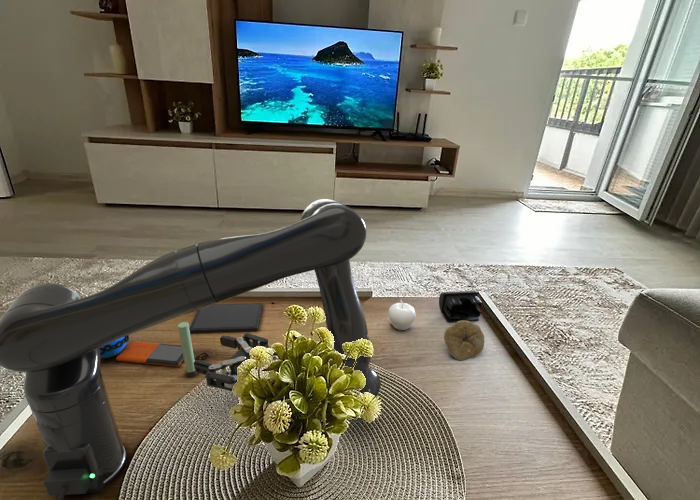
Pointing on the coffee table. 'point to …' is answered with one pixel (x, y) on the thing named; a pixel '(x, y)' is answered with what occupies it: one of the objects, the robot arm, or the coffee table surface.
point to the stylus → (187, 348)
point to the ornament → (113, 347)
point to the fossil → (464, 340)
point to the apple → (401, 315)
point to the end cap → (460, 306)
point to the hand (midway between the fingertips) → (208, 352)
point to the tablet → (227, 318)
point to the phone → (152, 354)
